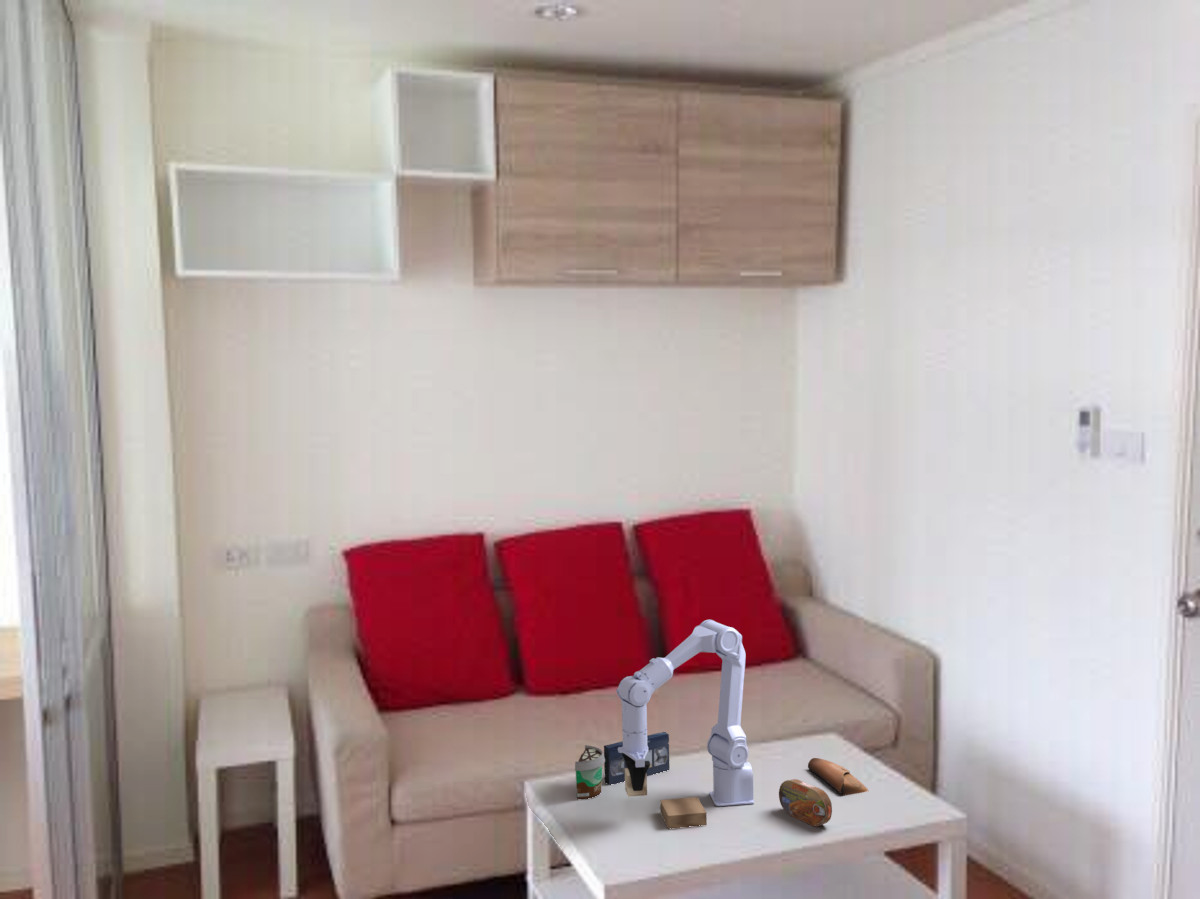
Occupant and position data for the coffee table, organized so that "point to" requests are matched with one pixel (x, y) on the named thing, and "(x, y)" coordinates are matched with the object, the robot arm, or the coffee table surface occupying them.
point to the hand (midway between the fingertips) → (636, 785)
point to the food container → (589, 772)
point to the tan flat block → (683, 812)
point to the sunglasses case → (836, 776)
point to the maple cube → (629, 788)
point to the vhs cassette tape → (655, 755)
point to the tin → (805, 802)
